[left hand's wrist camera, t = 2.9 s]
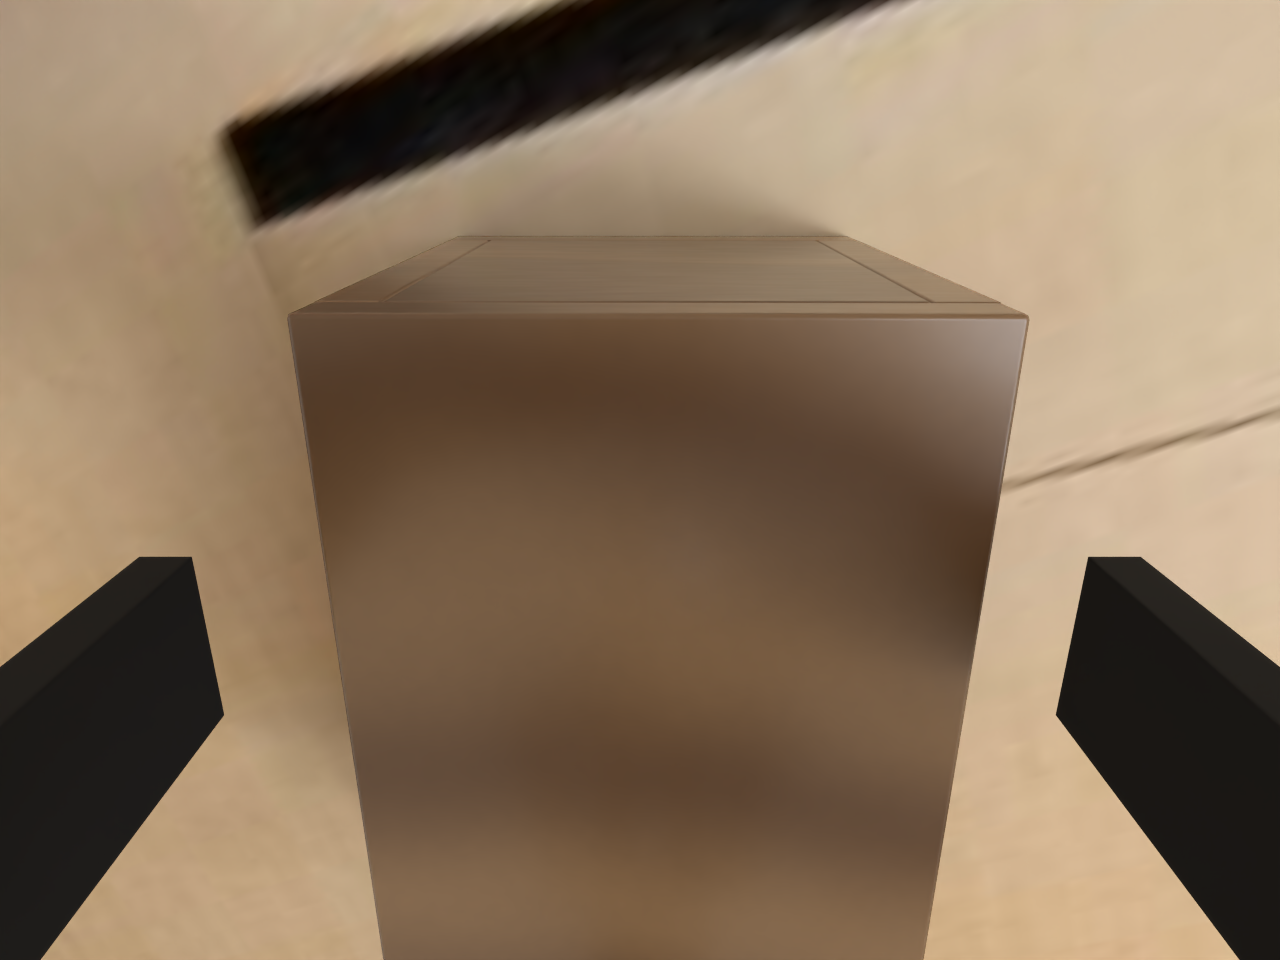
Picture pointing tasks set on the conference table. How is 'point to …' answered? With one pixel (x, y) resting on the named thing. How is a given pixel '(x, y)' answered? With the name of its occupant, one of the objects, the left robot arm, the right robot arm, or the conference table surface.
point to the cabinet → (656, 587)
